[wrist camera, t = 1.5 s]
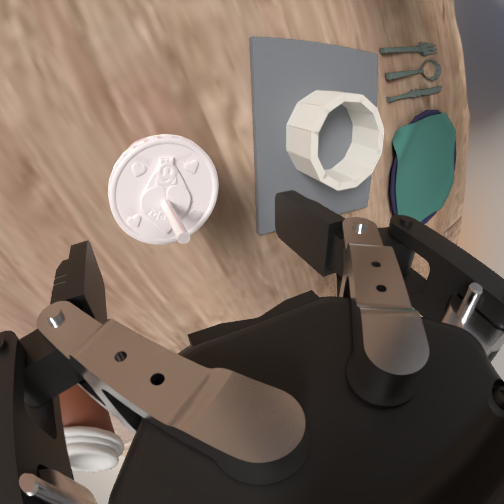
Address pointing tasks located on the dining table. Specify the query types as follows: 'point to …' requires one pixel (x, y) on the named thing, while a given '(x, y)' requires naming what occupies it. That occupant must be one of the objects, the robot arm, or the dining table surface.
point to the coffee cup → (88, 432)
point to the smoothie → (163, 189)
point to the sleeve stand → (313, 124)
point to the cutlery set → (422, 152)
